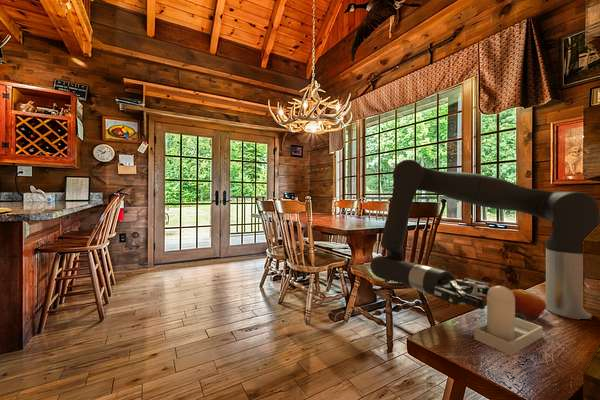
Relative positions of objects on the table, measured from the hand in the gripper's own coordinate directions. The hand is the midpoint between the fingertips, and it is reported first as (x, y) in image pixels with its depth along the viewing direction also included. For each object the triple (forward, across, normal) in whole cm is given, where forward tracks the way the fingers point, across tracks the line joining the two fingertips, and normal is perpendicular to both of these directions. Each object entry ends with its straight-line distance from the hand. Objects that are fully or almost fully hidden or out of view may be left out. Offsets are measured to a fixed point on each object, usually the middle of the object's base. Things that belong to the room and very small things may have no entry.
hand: (494, 300), depth 61 cm
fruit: (-2, +20, +9) cm, 22 cm away
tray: (+1, +4, +9) cm, 10 cm away
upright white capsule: (+1, 0, +8) cm, 8 cm away
